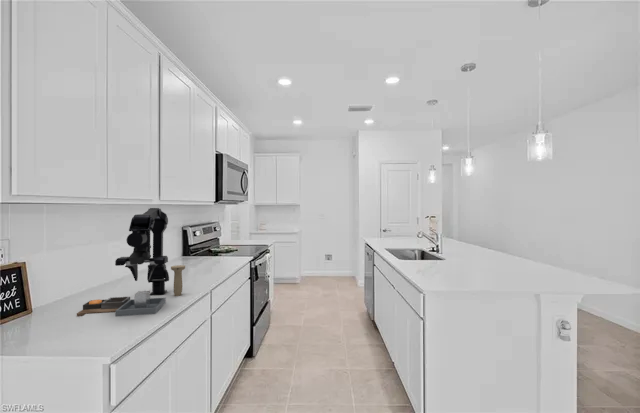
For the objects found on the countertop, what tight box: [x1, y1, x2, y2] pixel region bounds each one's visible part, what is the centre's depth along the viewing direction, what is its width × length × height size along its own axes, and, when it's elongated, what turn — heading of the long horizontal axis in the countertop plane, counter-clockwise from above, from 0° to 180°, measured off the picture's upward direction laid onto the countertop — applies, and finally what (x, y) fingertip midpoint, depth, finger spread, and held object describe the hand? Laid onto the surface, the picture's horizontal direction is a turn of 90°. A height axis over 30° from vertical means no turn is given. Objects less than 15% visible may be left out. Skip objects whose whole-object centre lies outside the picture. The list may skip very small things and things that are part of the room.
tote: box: [114, 297, 167, 317], centre depth 129 cm, size 15×15×3 cm
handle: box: [170, 264, 186, 297], centre depth 149 cm, size 5×6×15 cm
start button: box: [88, 299, 103, 304], centre depth 130 cm, size 4×4×2 cm
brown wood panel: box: [76, 296, 131, 317], centre depth 131 cm, size 15×16×4 cm
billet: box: [134, 290, 151, 309], centre depth 129 cm, size 4×4×7 cm
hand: (142, 280), depth 129 cm, fingers open, 4 cm apart
